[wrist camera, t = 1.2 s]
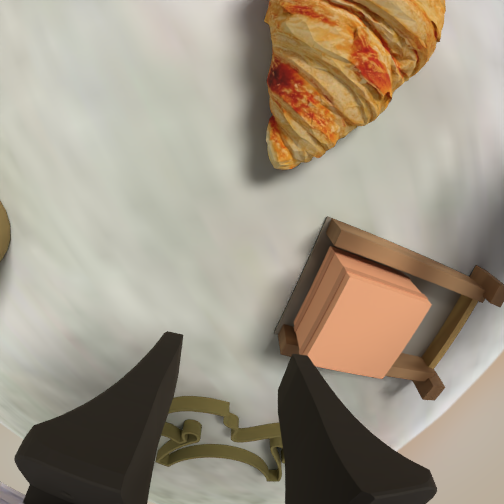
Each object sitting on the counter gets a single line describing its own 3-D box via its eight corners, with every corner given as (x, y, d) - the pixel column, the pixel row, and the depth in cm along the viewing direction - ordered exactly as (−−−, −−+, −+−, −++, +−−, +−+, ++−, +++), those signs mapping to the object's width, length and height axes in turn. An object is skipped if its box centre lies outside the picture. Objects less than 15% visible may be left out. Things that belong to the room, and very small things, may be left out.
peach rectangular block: (403, 272, 21) (432, 304, 17) (364, 340, 23) (382, 379, 19) (329, 244, 20) (349, 275, 16) (292, 322, 22) (301, 363, 18)
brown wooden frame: (486, 270, 21) (510, 289, 18) (420, 375, 25) (434, 400, 22) (333, 200, 19) (350, 215, 16) (268, 343, 23) (271, 375, 20)
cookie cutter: (142, 445, 30) (138, 459, 28) (148, 379, 25) (142, 395, 24) (293, 470, 32) (294, 483, 30) (337, 413, 27) (341, 428, 26)
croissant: (309, 174, 22) (391, 226, 16) (177, 129, 17) (233, 173, 11) (404, -41, 15) (488, -41, 9) (312, -118, 9) (397, -150, 3)
